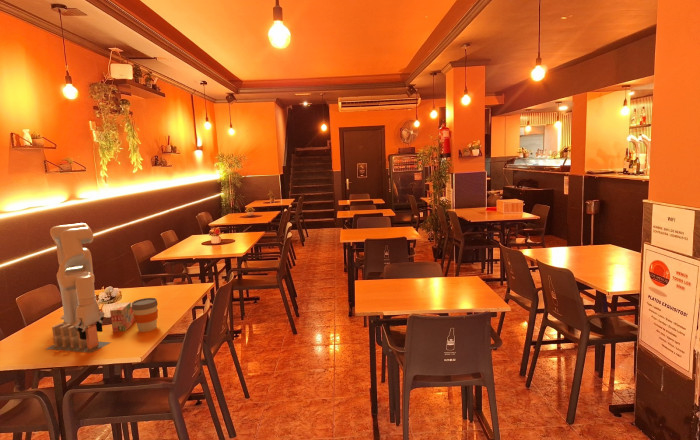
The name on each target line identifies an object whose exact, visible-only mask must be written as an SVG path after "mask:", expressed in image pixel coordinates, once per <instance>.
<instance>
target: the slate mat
mask: <svg viewBox="0 0 700 440" xmlns="http://www.w3.org/2000/svg"><path fill="white" fill-rule="evenodd" d="M98 343H99V345H97V346H95V347H93V348H92V349H88V347H87V346H86V347H84V348H79V345H78V346H76V347H74V348H71V345H69V346H67V347H63V344H62V345H60V346H58V347H57V346H55V344H53V345H50V346H48V347H46V348H45V350H51V351H62V352H66V351H67V352H77V353H90V354H91V353H94V352H96V351H98V350H100V349H102V348H105V346H107V345H109V344H111V343H112V342H110V341H98Z"/></svg>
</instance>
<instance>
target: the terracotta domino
mask: <svg viewBox="0 0 700 440" xmlns="http://www.w3.org/2000/svg"><path fill="white" fill-rule="evenodd" d="M85 332H86V338H87V347H88V349H92V348H93V347H95V346H97V345H99V343H98V342H99V336H98V332H97V328H96V324H91V325H89V326H88V328H86V329H85Z"/></svg>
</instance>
